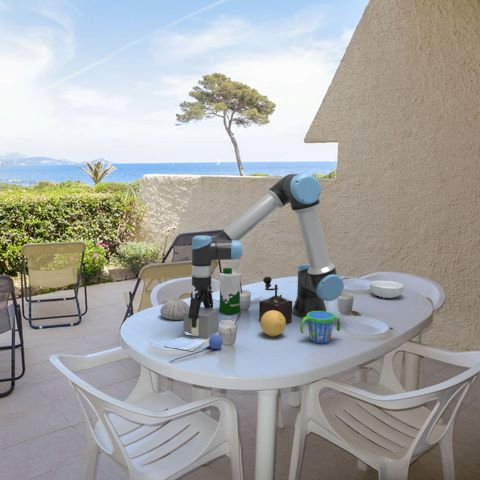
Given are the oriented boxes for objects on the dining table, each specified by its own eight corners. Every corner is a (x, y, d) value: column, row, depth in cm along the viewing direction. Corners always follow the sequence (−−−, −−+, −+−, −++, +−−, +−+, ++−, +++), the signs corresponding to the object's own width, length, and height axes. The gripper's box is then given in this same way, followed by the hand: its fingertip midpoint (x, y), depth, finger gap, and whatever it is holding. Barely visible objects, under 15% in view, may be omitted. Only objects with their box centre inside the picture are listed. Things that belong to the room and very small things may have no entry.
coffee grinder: (293, 322, 190) (295, 281, 188) (277, 327, 183) (278, 285, 180) (266, 314, 201) (267, 275, 199) (249, 319, 193) (250, 278, 191)
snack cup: (303, 346, 163) (304, 319, 161) (296, 336, 173) (297, 310, 172) (344, 345, 164) (345, 318, 163) (335, 335, 175) (336, 310, 173)
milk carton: (231, 308, 209) (231, 266, 207) (243, 312, 202) (244, 269, 200) (216, 311, 204) (216, 268, 201) (228, 316, 197) (229, 272, 194)
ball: (224, 347, 160) (225, 333, 160) (219, 352, 156) (219, 338, 155) (212, 345, 162) (212, 332, 161) (206, 350, 157) (206, 336, 157)
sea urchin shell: (173, 311, 204) (173, 294, 203) (197, 316, 197) (197, 298, 196) (154, 318, 193) (153, 300, 192) (178, 324, 186) (178, 305, 185)
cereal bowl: (362, 294, 239) (363, 281, 238) (386, 291, 246) (387, 279, 245) (385, 302, 224) (385, 288, 223) (409, 299, 231) (410, 286, 230)
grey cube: (218, 330, 178) (218, 309, 177) (207, 338, 169) (207, 316, 167) (195, 327, 182) (195, 306, 180) (183, 335, 172) (183, 313, 171)
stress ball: (258, 339, 171) (271, 329, 164) (253, 316, 176) (266, 305, 169) (280, 340, 176) (293, 329, 169) (274, 317, 181) (287, 306, 174)
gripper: (205, 269, 184) (205, 321, 187) (178, 280, 163) (178, 338, 166) (222, 271, 181) (221, 323, 184) (197, 282, 160) (197, 341, 163)
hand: (201, 330), depth 175 cm, fingers closed on grey cube, 10 cm apart
